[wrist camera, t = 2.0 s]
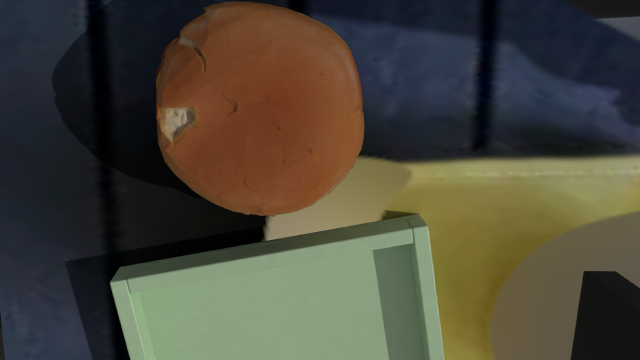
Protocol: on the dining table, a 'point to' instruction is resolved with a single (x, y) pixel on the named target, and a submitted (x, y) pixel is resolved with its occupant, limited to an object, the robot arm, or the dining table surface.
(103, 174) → the dining table surface
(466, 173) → the dining table surface
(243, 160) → the burger
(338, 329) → the serving tray
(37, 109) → the dining table surface
